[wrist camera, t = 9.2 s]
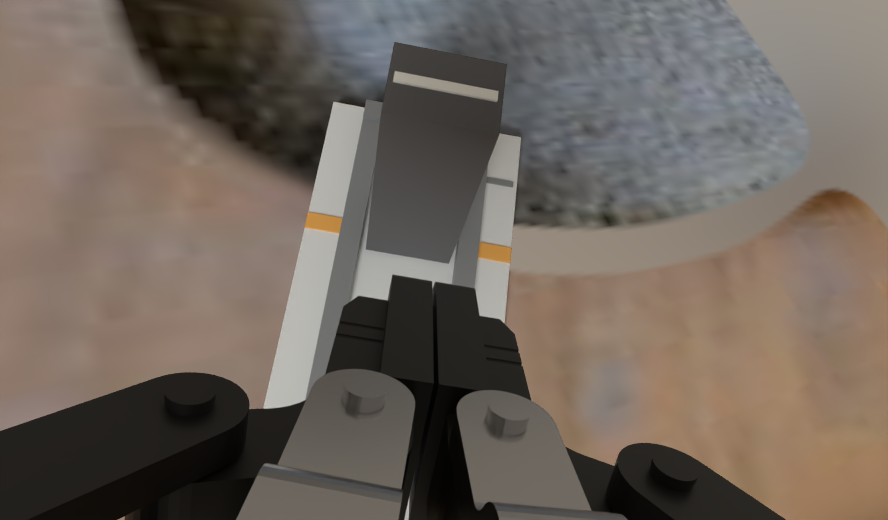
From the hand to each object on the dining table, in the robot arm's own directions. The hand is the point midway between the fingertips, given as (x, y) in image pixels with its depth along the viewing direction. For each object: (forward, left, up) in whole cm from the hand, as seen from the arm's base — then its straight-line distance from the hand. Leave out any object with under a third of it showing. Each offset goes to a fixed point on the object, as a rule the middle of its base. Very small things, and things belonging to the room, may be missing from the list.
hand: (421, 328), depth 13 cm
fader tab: (-10, +5, -18) cm, 21 cm away
